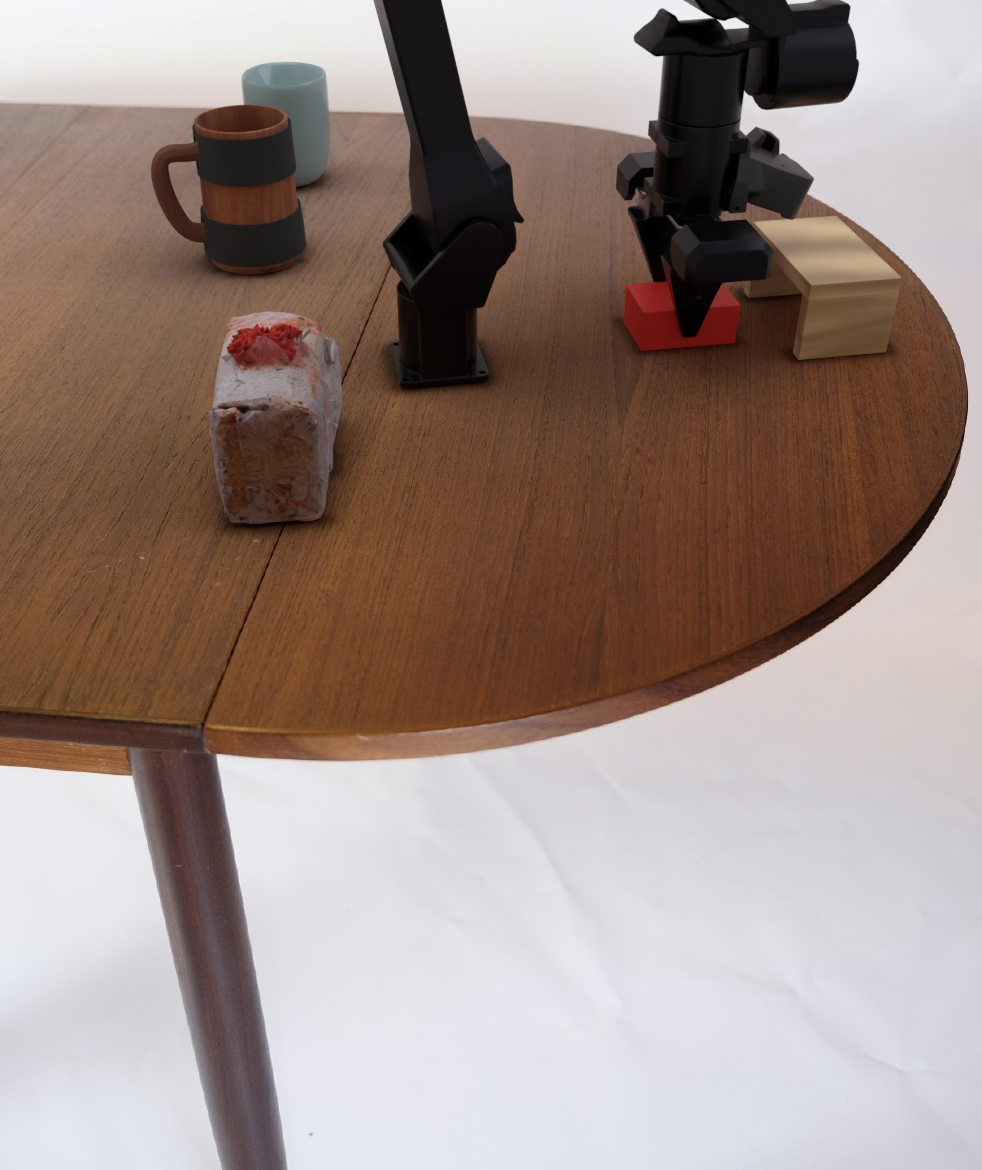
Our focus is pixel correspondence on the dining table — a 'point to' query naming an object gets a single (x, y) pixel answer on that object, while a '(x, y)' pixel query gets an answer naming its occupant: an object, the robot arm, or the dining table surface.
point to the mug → (239, 189)
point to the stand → (829, 286)
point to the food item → (275, 418)
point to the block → (658, 324)
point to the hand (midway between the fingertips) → (678, 321)
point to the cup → (296, 109)
